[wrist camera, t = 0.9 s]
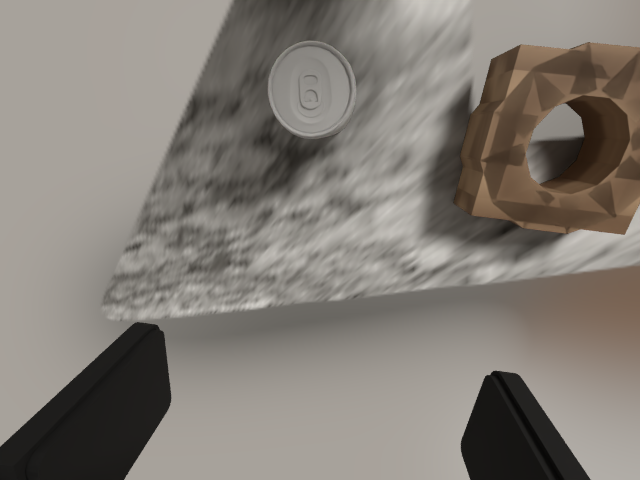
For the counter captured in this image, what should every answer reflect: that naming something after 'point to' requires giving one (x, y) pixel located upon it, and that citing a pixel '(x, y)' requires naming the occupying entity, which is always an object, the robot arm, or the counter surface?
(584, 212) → the socket block
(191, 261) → the counter surface
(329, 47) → the beverage can
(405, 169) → the counter surface
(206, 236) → the counter surface
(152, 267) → the counter surface
